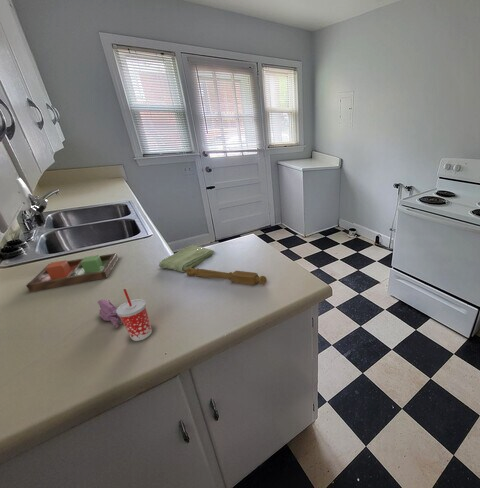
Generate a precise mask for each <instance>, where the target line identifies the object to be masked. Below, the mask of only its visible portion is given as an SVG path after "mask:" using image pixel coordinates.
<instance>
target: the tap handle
mask: <svg viewBox="0 0 480 488" xmlns="http://www.w3.org/2000/svg"><path fill="white" fill-rule="evenodd" d="M185 273H186V275H187V276H189V277H192V276H193V277H194V276H195V277H199V278H210V279H224V280H228V281H231V282H232V283H233V284H238V285H239V284H240V285H247V286H248V285H249V286H255V285H256V284H258V283H259V284H260V285H265V284H266V282H267V277H266V276H265V275H260V276H259V275H258V272H252V271H245V270H234V271H232V272H231V271H230V272H226V271H219V270H212V269H206V268H196V267H192V268H188V269H187V270H186V271H185Z"/></svg>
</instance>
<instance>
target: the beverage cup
mask: <svg viewBox="0 0 480 488" xmlns="http://www.w3.org/2000/svg"><path fill="white" fill-rule="evenodd" d="M123 292H124V296H125V298H126V302H124V303H123V302H122V303H121V304H120V305H119V306H118V307H116V308H117V310H116V313H117V315H118V316H119V317H120V321H122V324H123V325H124V327H125V330H126V331H127V333H128V335H129V337H130V339H131V340H132V341H134V342H139V341H142V340H143V341H144V340H146V339H147V338H148V337H150V336H151V334H152V332H153V329H152V325H151V322H150V319H149V314H148V311H147V303H146V302H147V301H146V300H144V299H141V298H136V299H130V296H129V294H128V291H127V289H126V288H123Z"/></svg>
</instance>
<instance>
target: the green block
mask: <svg viewBox="0 0 480 488" xmlns="http://www.w3.org/2000/svg"><path fill="white" fill-rule="evenodd" d="M100 256H101V255H99V254H98V255H90V256H85V257H83V258H84V259H83V258H82V259H83V260H82V261H81V265H82V267H83V269H84V271H85V273H88V272H94V271H100V269H101V268H102V266H103V263H102V261H101V258H100Z"/></svg>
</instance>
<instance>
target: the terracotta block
mask: <svg viewBox="0 0 480 488" xmlns="http://www.w3.org/2000/svg"><path fill="white" fill-rule="evenodd" d="M67 261H68V260H67V259H65V260H59V261H58V260H57V261H53V262H50V263H48V264H49V265H48V264H47V265H48V266H47V265H46V266H47V267H46V266H45V267H46V270H47V272H48V274H49V276H50V278H51V279H53V278H59V277H65V276H67V275H68V274H69V273H70V272H71V269H70V267H69V264H68V262H67Z"/></svg>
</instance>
